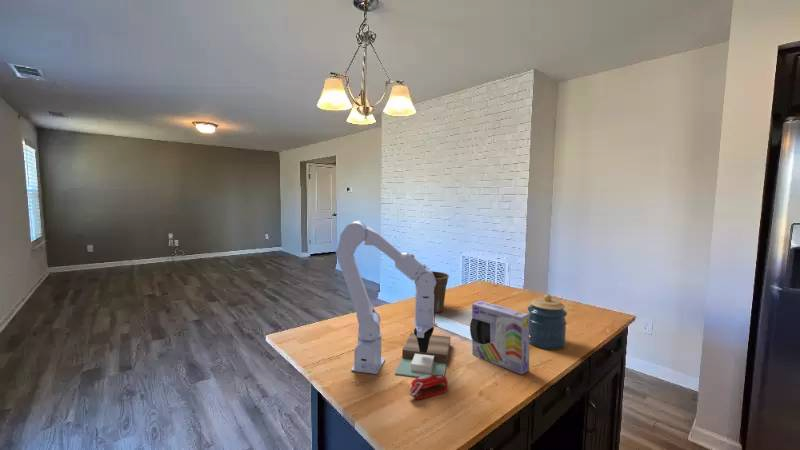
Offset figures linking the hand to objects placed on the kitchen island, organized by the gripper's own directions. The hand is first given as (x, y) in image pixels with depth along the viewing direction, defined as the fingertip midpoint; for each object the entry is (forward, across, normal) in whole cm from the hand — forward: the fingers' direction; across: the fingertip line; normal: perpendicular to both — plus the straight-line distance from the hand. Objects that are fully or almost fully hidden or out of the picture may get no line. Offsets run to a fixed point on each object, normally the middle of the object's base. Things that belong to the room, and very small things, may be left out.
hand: (423, 351), depth 107 cm
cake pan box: (+4, +7, -22) cm, 24 cm away
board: (+4, +9, 0) cm, 9 cm away
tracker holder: (+5, -14, -2) cm, 15 cm away
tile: (+4, -2, 0) cm, 4 cm away
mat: (+4, -4, 0) cm, 5 cm away
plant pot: (+4, +53, +5) cm, 53 cm away
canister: (+4, +27, -40) cm, 48 cm away
